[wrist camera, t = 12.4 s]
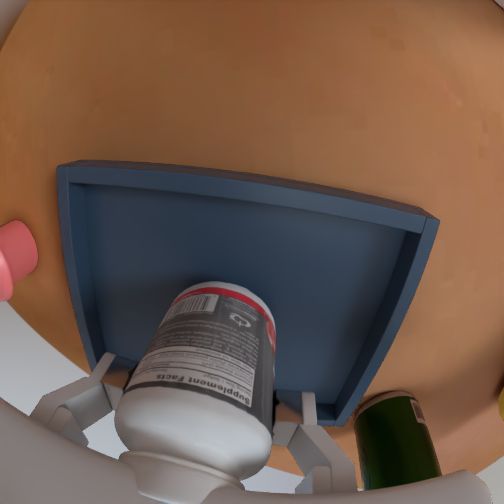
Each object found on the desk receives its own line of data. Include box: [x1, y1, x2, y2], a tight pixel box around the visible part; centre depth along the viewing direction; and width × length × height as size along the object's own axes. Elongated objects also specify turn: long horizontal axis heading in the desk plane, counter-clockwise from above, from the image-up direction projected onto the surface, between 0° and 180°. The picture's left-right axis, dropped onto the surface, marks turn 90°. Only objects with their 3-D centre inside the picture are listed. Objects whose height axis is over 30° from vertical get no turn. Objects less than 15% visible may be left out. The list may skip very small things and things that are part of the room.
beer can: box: [354, 391, 442, 491], centre depth 13 cm, size 5×5×12 cm
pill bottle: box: [114, 281, 276, 504], centre depth 10 cm, size 5×5×10 cm
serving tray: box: [57, 160, 440, 427], centre depth 15 cm, size 18×15×2 cm
